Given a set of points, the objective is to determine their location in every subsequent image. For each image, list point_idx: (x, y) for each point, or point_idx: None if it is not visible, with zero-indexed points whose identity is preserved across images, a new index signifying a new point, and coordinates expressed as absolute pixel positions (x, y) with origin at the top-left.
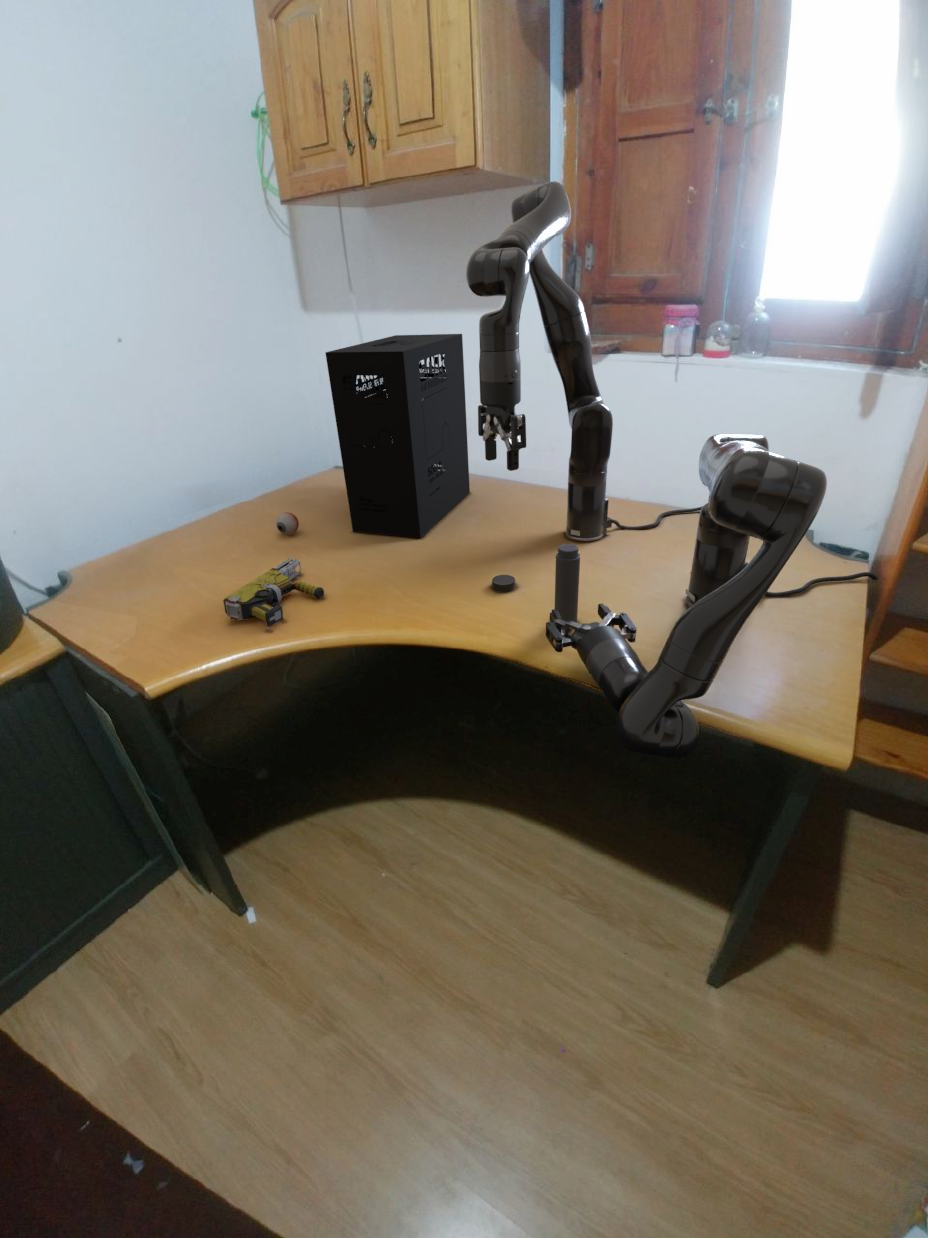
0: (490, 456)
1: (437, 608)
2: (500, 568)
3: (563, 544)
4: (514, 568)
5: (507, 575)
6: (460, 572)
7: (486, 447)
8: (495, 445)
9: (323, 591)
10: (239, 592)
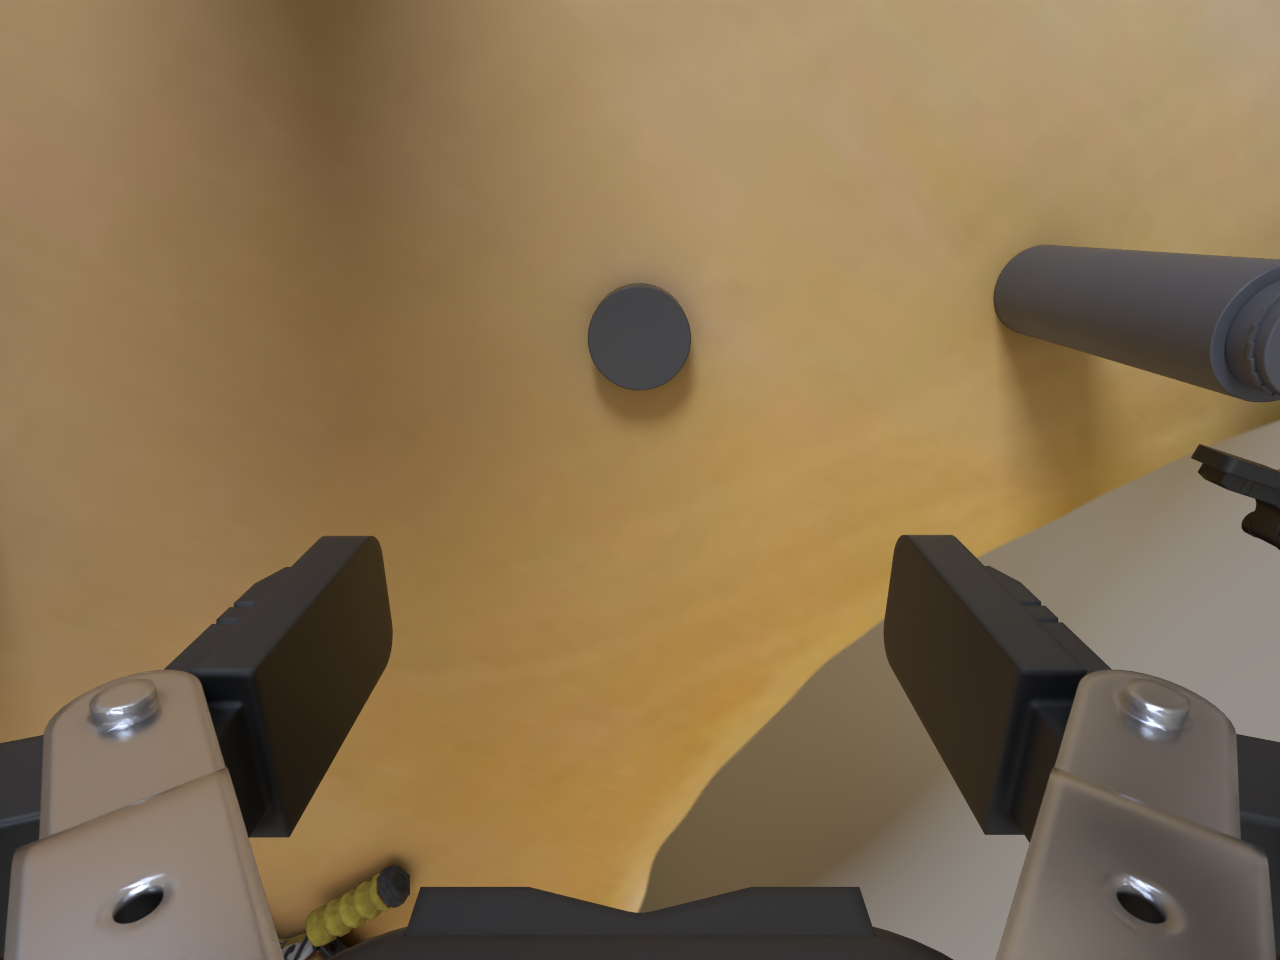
0: (375, 636)
1: (655, 612)
2: (464, 249)
3: (1273, 340)
4: (496, 189)
5: (611, 303)
6: (419, 421)
7: (319, 770)
8: (297, 638)
9: (393, 878)
10: None
